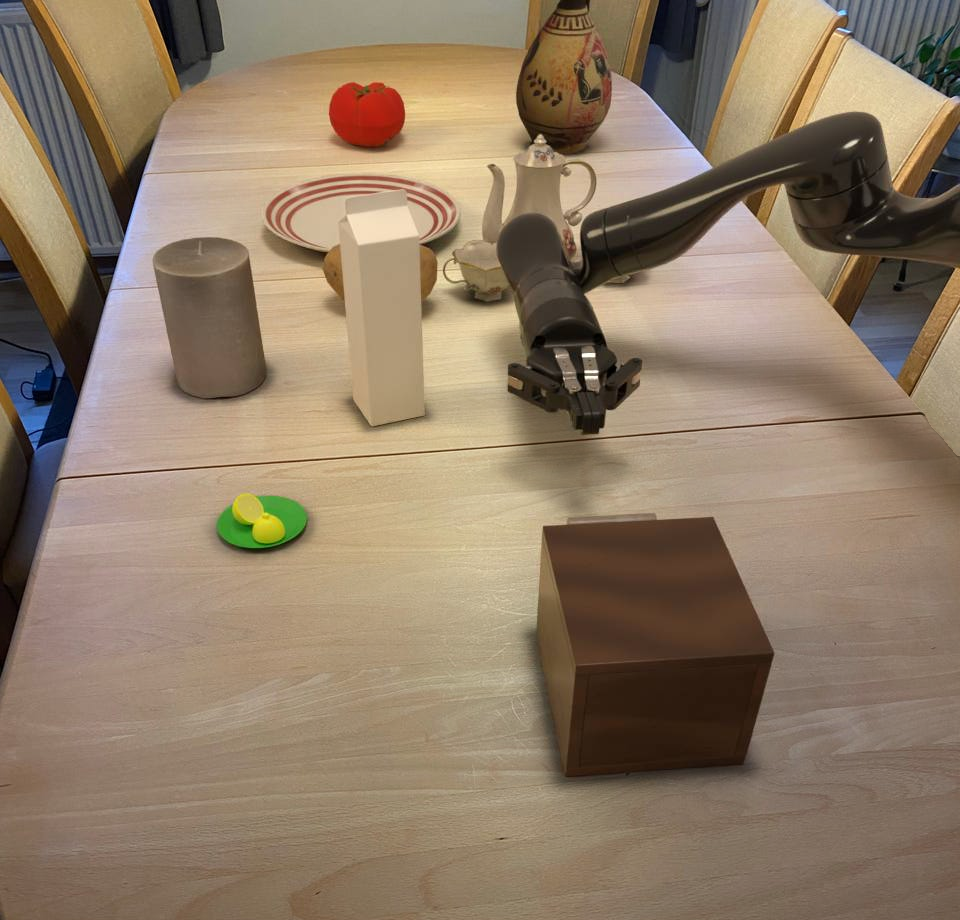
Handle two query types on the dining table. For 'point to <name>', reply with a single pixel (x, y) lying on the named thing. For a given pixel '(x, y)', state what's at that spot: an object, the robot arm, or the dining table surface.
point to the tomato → (366, 113)
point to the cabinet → (648, 646)
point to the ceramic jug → (565, 80)
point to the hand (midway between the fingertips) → (591, 425)
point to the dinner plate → (321, 205)
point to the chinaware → (532, 195)
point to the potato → (335, 275)
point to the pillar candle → (211, 316)
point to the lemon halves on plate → (261, 521)
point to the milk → (383, 306)
